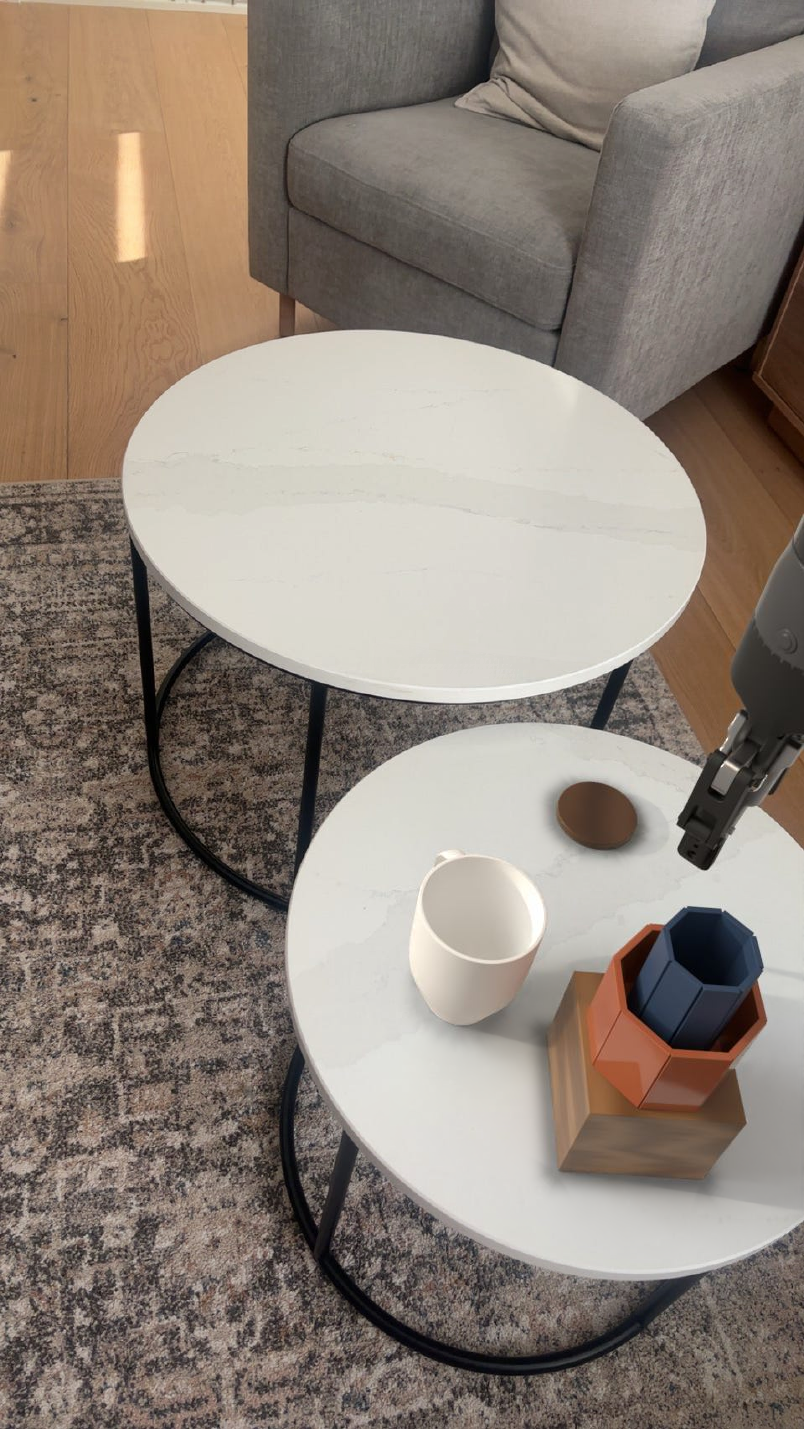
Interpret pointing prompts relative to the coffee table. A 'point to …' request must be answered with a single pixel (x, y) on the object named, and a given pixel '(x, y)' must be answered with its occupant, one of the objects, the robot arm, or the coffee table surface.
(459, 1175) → the coffee table surface
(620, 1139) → the riser
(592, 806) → the coaster
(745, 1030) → the terracotta cup
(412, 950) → the mug
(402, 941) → the coffee table surface
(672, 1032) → the slate cup
